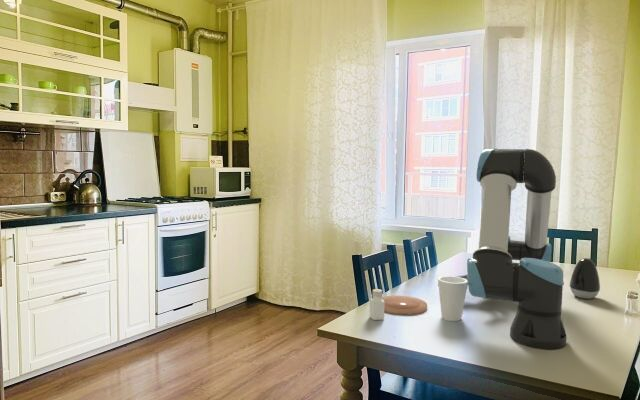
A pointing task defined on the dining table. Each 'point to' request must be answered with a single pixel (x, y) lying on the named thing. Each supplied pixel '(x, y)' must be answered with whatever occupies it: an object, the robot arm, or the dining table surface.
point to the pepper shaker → (377, 305)
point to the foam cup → (452, 296)
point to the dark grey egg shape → (585, 279)
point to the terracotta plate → (404, 305)
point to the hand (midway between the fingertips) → (464, 290)
